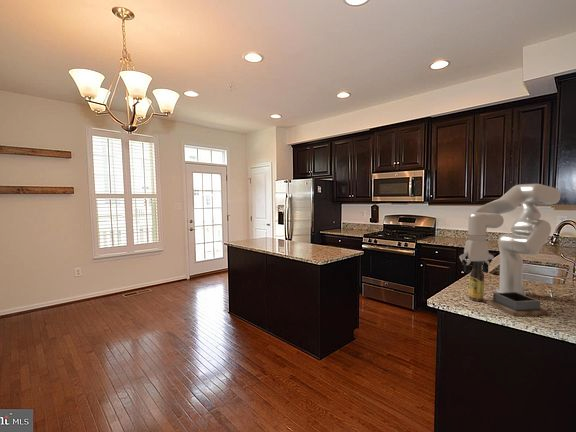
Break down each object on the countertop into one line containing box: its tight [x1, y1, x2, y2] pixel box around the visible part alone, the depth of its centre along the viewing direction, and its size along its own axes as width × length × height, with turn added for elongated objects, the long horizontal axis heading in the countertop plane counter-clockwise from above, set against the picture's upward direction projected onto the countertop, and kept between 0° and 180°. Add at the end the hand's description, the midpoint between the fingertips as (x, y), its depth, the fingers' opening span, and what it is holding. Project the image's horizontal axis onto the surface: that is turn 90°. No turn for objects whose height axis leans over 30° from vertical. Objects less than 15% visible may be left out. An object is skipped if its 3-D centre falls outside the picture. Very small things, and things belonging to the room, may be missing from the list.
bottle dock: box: [486, 292, 549, 317], centre depth 130 cm, size 16×15×6 cm
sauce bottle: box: [468, 261, 485, 302], centre depth 142 cm, size 7×6×20 cm
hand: (475, 272), depth 142 cm, fingers open, 9 cm apart
